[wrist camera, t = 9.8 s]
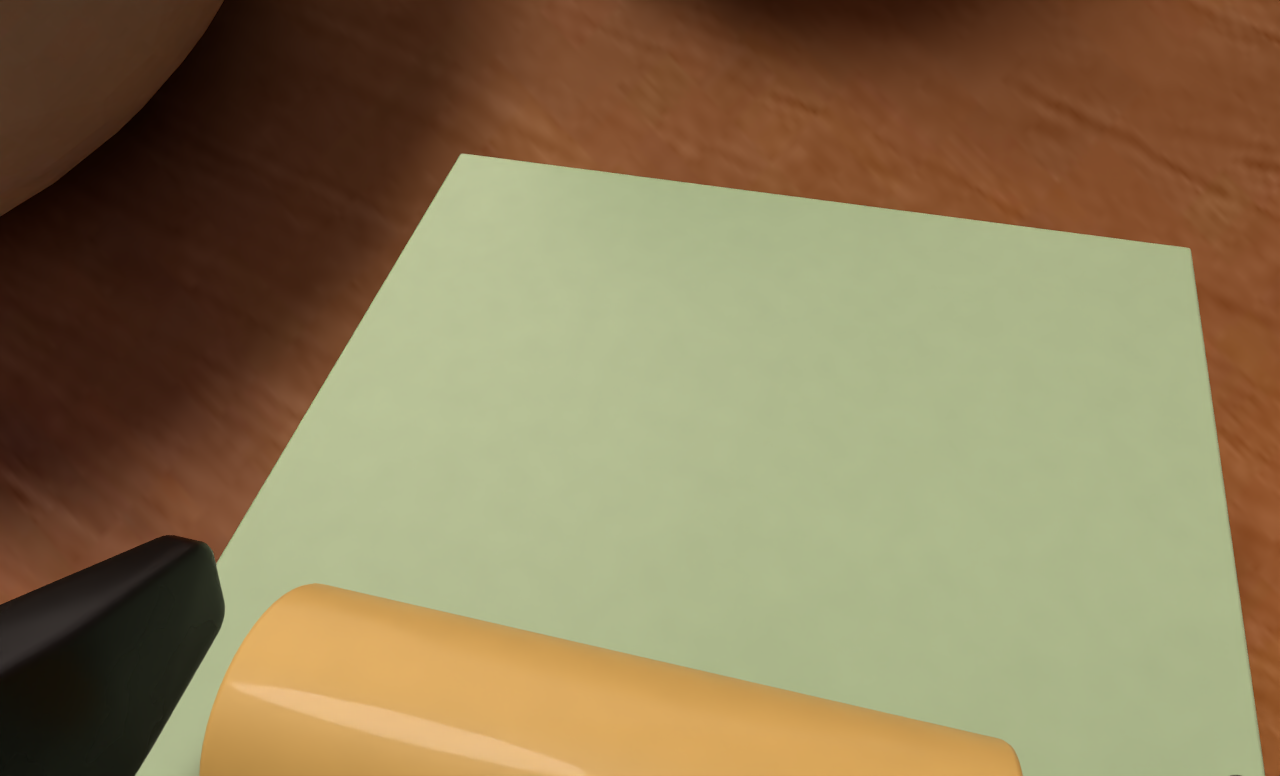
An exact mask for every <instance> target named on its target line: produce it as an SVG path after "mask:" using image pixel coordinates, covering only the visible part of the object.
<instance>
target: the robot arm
mask: <svg viewBox="0 0 1280 776" xmlns="http://www.w3.org/2000/svg"><path fill="white" fill-rule="evenodd" d="M224 615H225V601H224V597H223V593H222V588H221V584H220V580H219V575H218V571H217V567H216V562H215V558H214V554H213V551H212V550H211V548H210V547H209V546H208V545H207V544H206V543H204V542H202V541H197V540H193V539H188V538H184V537H179V536H175V535H166V536H162V537H159V538H156V539H154V540H152V541H149V542H147V543H144V544H142V545H140V546H137V547H135V548H133V549H130V550H128V551H126V552H123V553H121V554H119V555H116V556H114V557H112V558H109V559H107V560H105V561H102V562H100V563H97V564H95V565H93V566H90V567H88V568H86V569H83V570H81V571H79V572H76V573H74V574H72V575H69V576H67V577H65V578H62V579H60V580H58V581H55V582H53V583H51V584H48V585H46V586H43V587H41V588H39V589H36V590H34V591H32V592H29V593H27V594H25V595H22V596H20V597H18V598H15V599H13V600H11V601H8V602H6V603H3V604H1V605H0V776H135V775H136V773H137V772H138V770H139V769H140V767H141V765H142V764H143V762H144V761H145V759H146V757H147V756H148V754H149V752H150V751H151V749H152V748H153V746H154V744H155V742H156V741H157V739H158V737H159V735H160V734H161V732H162V730H163V729H164V727H165V725H166V723H167V722H168V720H169V718H170V716H171V715H172V713H173V711H174V709H175V708H176V706H177V704H178V702H179V701H180V699H181V697H182V696H183V694H184V692H185V690H186V689H187V687H188V685H189V683H190V682H191V680H192V678H193V676H194V675H195V673H196V671H197V669H198V668H199V666H200V664H201V662H202V661H203V659H204V657H205V656H206V654H207V652H208V650H209V649H210V647H211V645H212V643H213V642H214V640H215V638H216V636H217V635H218V633H219V631H220V629H221V626H222V623H223V620H224ZM1230 776H1241V775H1230Z"/></svg>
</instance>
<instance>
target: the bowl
mask: <svg viewBox="0 0 1280 776" xmlns="http://www.w3.org/2000/svg"><path fill="white" fill-rule="evenodd" d="M223 1H224V0H0V216H2V215H3V214H5V213H7V212H8V211H10V210H11V209H13V208H15V207H16V206H18V205H20V204H21V203H23V202H24V201H26V200H28V199H29V198H31V197H32V196H34V195H36V194H37V193H39V192H41V191H42V190H44V189H45V188H47V187H49V186H50V185H52V184H53V183H55V182H56V181H57V180H59V179H60V178H61V177H62V176H64V175H65V174H66V173H67V172H69V171H70V170H71V169H72V168H74V167H75V166H76V165H77V164H79V163H80V162H81V161H82V160H83V159H85V158H86V157H87V156H88V155H90V154H91V153H92V152H93V151H95V150H96V149H97V148H98V147H100V146H101V145H102V144H103V143H105V142H106V141H107V140H108V139H109V138H111V137H112V136H113V135H114V134H116V133H117V132H118V131H119V130H120V129H121V128H122V127H123V126H124V125H125V124H126V123H127V122H128V121H129V120H130V119H132V118H133V117H134V116H135V115H136V114H137V113H138V112H139V111H140V110H141V109H142V108H143V107H144V106H145V105H146V103H147V102H148V101H149V100H150V99H151V98H152V97H153V95H154V94H155V93H156V92H157V91H158V90H159V88H160V87H161V86H162V85H163V84H164V83H165V82H166V80H167V79H168V78H169V77H170V76H171V75H172V74H173V72H174V71H175V70H176V69H177V68H178V67H179V65H180V64H181V63H182V62H183V61H184V59H185V58H186V57H187V55H188V54H189V53H190V51H191V50H192V49H193V47H194V46H195V45H196V43H197V42H198V41H199V40H200V38H201V37H202V36H203V34H204V33H205V32H206V30H207V28H208V27H209V25H210V23H211V21H212V20H213V18H214V16H215V15H216V13H217V11H218V10H219V8H220V6H221V5H222V3H223Z"/></svg>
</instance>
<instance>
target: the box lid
mask: <svg viewBox="0 0 1280 776" xmlns="http://www.w3.org/2000/svg"><path fill="white" fill-rule="evenodd" d="M216 567H217V571H218V575H219V580H220V584H221V588H222V593H223V597H224V601H225V615H224V620H223V623H222V626H221V629H220V631H219V633H218V635H217V636H216V638H215V640H214V642H213V643H212V645H211V647H210V649H209V650H208V652H207V654H206V656H205V657H204V659H203V661H202V662H201V664H200V666H199V668H198V669H197V671H196V673H195V675H194V676H193V678H192V680H191V682H190V683H189V685H188V687H187V689H186V690H185V692H184V694H183V696H182V697H181V699H180V701H179V702H178V704H177V706H176V708H175V709H174V711H173V713H172V715H171V716H170V718H169V720H168V722H167V723H166V725H165V727H164V729H163V730H162V732H161V734H160V735H159V737H158V739H157V741H156V742H155V744H154V746H153V748H152V749H151V751H150V752H149V754H148V756H147V757H146V759H145V761H144V762H143V764H142V765H141V767H140V769H139V770H138V772H137V773H136V775H135V776H1230V775H1241V776H1265V772H1264V765H1263V758H1262V750H1261V743H1260V736H1259V729H1258V722H1257V715H1256V708H1255V701H1254V694H1253V687H1252V680H1251V673H1250V665H1249V658H1248V651H1247V644H1246V637H1245V630H1244V623H1243V616H1242V609H1241V602H1240V595H1239V588H1238V581H1237V573H1236V566H1235V559H1234V552H1233V545H1232V538H1231V531H1230V524H1229V517H1228V510H1227V503H1226V496H1225V488H1224V481H1223V474H1222V467H1221V460H1220V453H1219V446H1218V439H1217V432H1216V425H1215V418H1214V411H1213V403H1212V396H1211V389H1210V382H1209V375H1208V368H1207V361H1206V354H1205V347H1204V340H1203V333H1202V326H1201V318H1200V311H1199V304H1198V297H1197V290H1196V283H1195V276H1194V269H1193V262H1192V255H1191V250H1190V249H1189V248H1185V247H1178V246H1170V245H1162V244H1155V243H1147V242H1139V241H1131V240H1124V239H1116V238H1108V237H1101V236H1093V235H1085V234H1078V233H1070V232H1062V231H1055V230H1047V229H1039V228H1032V227H1024V226H1016V225H1009V224H1001V223H993V222H986V221H978V220H970V219H962V218H955V217H947V216H939V215H932V214H924V213H916V212H909V211H901V210H893V209H886V208H878V207H870V206H863V205H855V204H847V203H840V202H832V201H824V200H817V199H809V198H801V197H793V196H786V195H778V194H770V193H763V192H755V191H747V190H740V189H732V188H724V187H717V186H709V185H701V184H694V183H686V182H678V181H671V180H663V179H655V178H648V177H640V176H632V175H624V174H617V173H609V172H601V171H594V170H586V169H578V168H571V167H563V166H555V165H548V164H540V163H532V162H525V161H517V160H509V159H502V158H494V157H486V156H479V155H471V154H460V156H459V157H458V159H457V161H456V162H455V164H454V166H453V167H452V169H451V171H450V172H449V174H448V176H447V177H446V179H445V181H444V183H443V184H442V186H441V188H440V189H439V191H438V193H437V194H436V196H435V198H434V199H433V201H432V203H431V204H430V206H429V208H428V209H427V211H426V213H425V214H424V216H423V218H422V219H421V221H420V223H419V224H418V226H417V228H416V229H415V231H414V233H413V235H412V236H411V238H410V240H409V241H408V243H407V245H406V246H405V248H404V250H403V251H402V253H401V255H400V256H399V258H398V260H397V261H396V263H395V265H394V266H393V268H392V270H391V271H390V273H389V275H388V276H387V278H386V280H385V282H384V283H383V285H382V287H381V288H380V290H379V292H378V293H377V295H376V297H375V298H374V300H373V302H372V303H371V305H370V307H369V308H368V310H367V312H366V313H365V315H364V317H363V318H362V320H361V322H360V323H359V325H358V327H357V329H356V330H355V332H354V334H353V335H352V337H351V339H350V340H349V342H348V344H347V345H346V347H345V349H344V350H343V352H342V354H341V355H340V357H339V359H338V360H337V362H336V364H335V365H334V367H333V369H332V370H331V372H330V374H329V375H328V377H327V379H326V381H325V382H324V384H323V386H322V387H321V389H320V391H319V392H318V394H317V396H316V397H315V399H314V401H313V402H312V404H311V406H310V407H309V409H308V411H307V412H306V414H305V416H304V417H303V419H302V421H301V422H300V424H299V426H298V428H297V429H296V431H295V433H294V434H293V436H292V438H291V439H290V441H289V443H288V444H287V446H286V448H285V449H284V451H283V453H282V454H281V456H280V458H279V459H278V461H277V463H276V464H275V466H274V468H273V469H272V471H271V473H270V474H269V476H268V478H267V480H266V481H265V483H264V485H263V486H262V488H261V490H260V491H259V493H258V495H257V496H256V498H255V500H254V501H253V503H252V505H251V506H250V508H249V510H248V511H247V513H246V515H245V516H244V518H243V520H242V521H241V523H240V525H239V527H238V528H237V530H236V532H235V533H234V535H233V537H232V538H231V540H230V542H229V543H228V545H227V547H226V548H225V550H224V552H223V553H222V555H221V557H220V558H219V560H218V562H217V563H216Z"/></svg>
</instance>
